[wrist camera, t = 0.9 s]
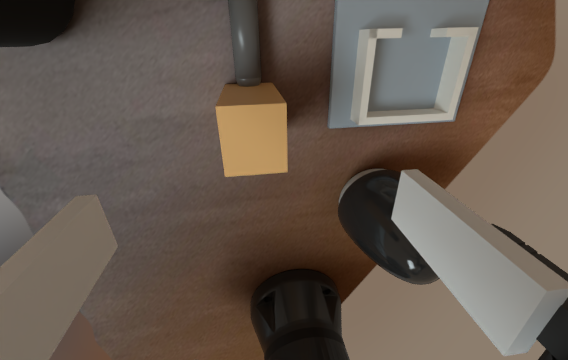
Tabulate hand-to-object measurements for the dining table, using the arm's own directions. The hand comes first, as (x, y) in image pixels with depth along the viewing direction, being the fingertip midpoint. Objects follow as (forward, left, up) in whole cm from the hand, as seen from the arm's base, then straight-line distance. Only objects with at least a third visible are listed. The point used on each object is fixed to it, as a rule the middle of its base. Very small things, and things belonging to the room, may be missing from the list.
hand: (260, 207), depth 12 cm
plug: (+5, 0, -20) cm, 21 cm away
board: (+7, -17, -20) cm, 27 cm away
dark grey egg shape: (-12, -15, -20) cm, 28 cm away
